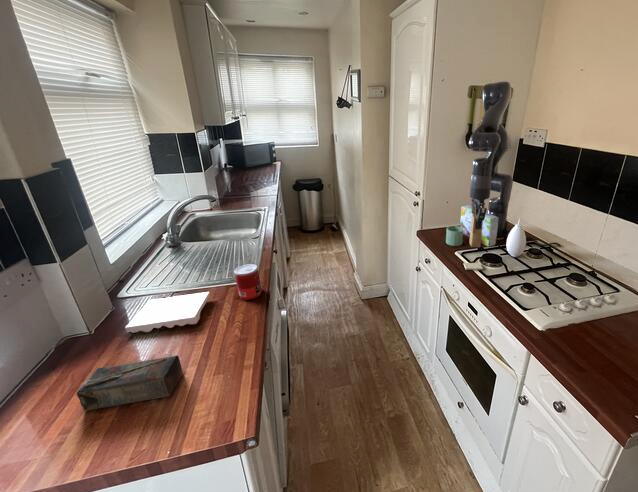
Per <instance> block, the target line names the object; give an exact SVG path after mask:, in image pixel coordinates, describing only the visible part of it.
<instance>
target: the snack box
mask: <svg viewBox="0 0 638 492" xmlns="http://www.w3.org/2000/svg"><path fill="white" fill-rule="evenodd" d="M474 209H475V208H474ZM472 214H473V213H472V205H463V206H461V208H460V221H459V223H460V224H459V227H462V228H463V229H464V231H463V235H464V236H466V237H468V238H470V230H471V218H472ZM497 227H498V217H496V216H494V215H491V214H489V213H488V212H486V215H485V219H484V221H483V225H482V235H481V244H482V245H483V246H485V247H488V248H489V247H493V246H496V244H497V240H496V236H497Z"/></svg>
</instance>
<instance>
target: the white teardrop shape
mask: <svg viewBox="0 0 638 492" xmlns="http://www.w3.org/2000/svg"><path fill="white" fill-rule="evenodd" d="M520 221H521V219H520V218H519V219H518V223H516V224H515V225H514V226H513V227H512V228H511V229H510V230H511V231H510V233H509V235H507V237H506V250H507V253H508V254H509V255H510V257H513V258H517V257H518V258H519V256H521V255H523V253H524V251H525V249H526V245H527V239H526V238H527V236H526V232H525V230H524V228H523V225H522V224H521V223H520Z"/></svg>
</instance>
